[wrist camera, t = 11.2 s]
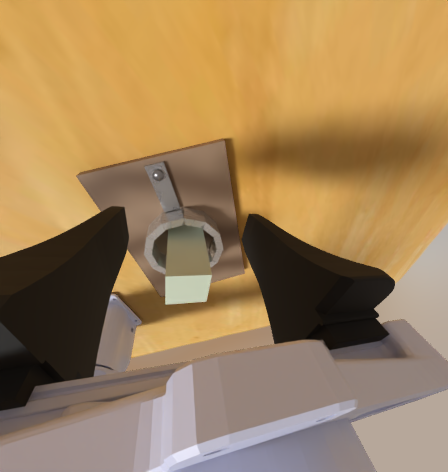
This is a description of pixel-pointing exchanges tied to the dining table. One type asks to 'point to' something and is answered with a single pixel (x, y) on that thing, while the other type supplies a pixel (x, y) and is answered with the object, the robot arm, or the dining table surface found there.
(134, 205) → the cup bracket
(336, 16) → the dining table surface
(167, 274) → the sage peg
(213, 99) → the dining table surface
